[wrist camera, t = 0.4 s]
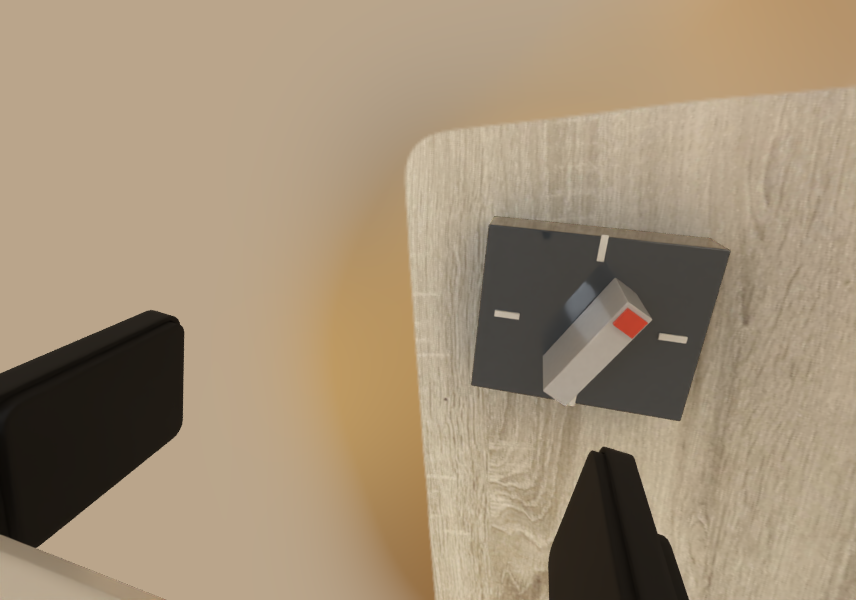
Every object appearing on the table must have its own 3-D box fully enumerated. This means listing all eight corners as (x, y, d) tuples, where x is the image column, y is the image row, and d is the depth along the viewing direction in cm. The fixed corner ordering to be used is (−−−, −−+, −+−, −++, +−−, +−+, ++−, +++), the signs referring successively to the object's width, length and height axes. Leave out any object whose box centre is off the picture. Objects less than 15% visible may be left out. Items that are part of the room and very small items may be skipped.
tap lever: (561, 370, 27) (565, 410, 23) (542, 356, 27) (542, 393, 23) (636, 292, 25) (654, 321, 21) (614, 277, 25) (628, 303, 21)
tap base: (476, 365, 31) (470, 388, 29) (494, 213, 28) (488, 222, 25) (667, 396, 29) (681, 425, 26) (711, 236, 26) (733, 248, 23)
